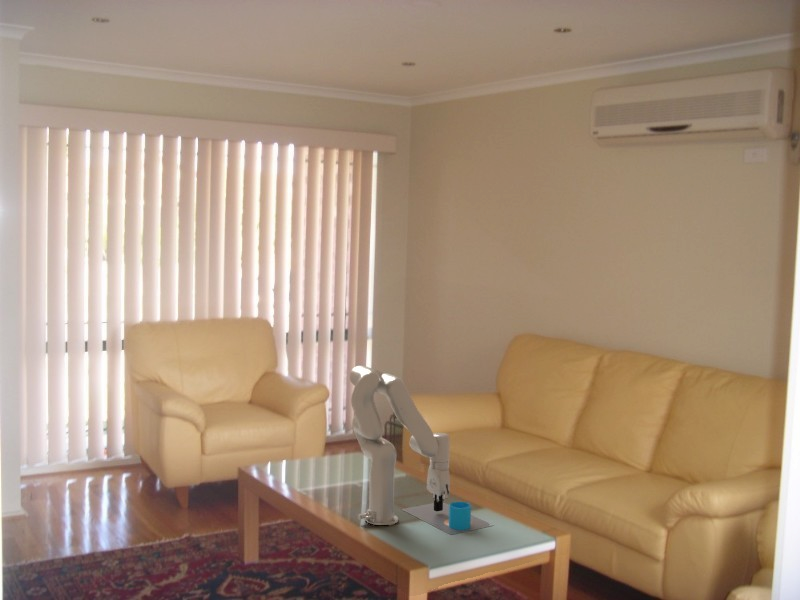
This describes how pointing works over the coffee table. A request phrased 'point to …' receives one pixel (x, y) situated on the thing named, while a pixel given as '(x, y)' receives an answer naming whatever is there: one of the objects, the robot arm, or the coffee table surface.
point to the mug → (459, 515)
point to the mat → (442, 518)
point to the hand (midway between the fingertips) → (438, 510)
